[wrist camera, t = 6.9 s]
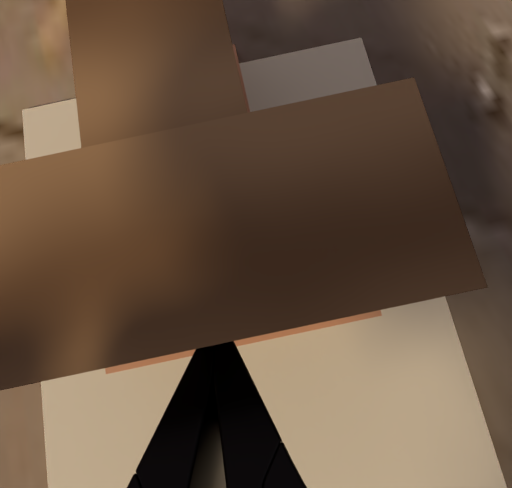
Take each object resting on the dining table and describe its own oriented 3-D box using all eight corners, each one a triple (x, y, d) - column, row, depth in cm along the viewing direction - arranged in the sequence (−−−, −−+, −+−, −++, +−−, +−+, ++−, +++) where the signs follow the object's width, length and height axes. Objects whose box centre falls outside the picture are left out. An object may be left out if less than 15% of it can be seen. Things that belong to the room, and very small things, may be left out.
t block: (89, 83, 18) (-83, -128, 9) (291, 40, 18) (312, -212, 9) (120, 347, 15) (-87, 408, 6) (360, 296, 15) (487, 287, 6)
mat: (24, 93, 18) (20, 90, 18) (354, 23, 18) (355, 18, 18) (60, 593, 14) (55, 600, 13) (507, 499, 14) (512, 504, 13)
